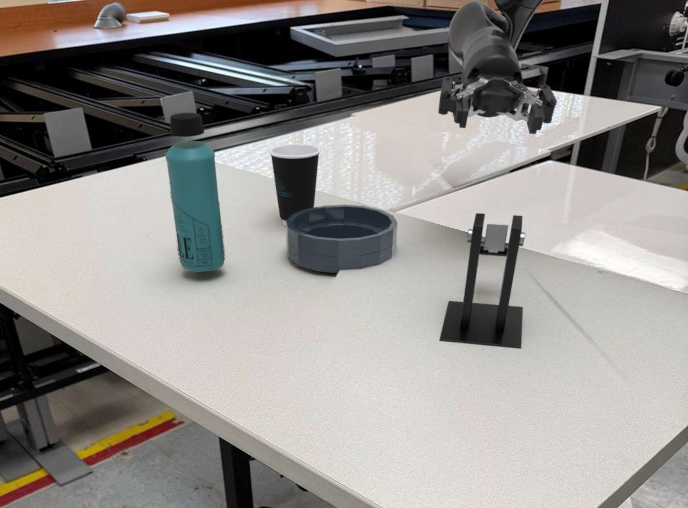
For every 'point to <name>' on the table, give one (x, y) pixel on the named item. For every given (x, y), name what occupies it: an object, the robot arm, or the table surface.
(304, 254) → the grey shallow bowl
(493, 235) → the tap lever
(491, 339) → the bracket
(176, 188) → the beverage bottle
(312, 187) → the dixie cup
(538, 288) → the table surface
